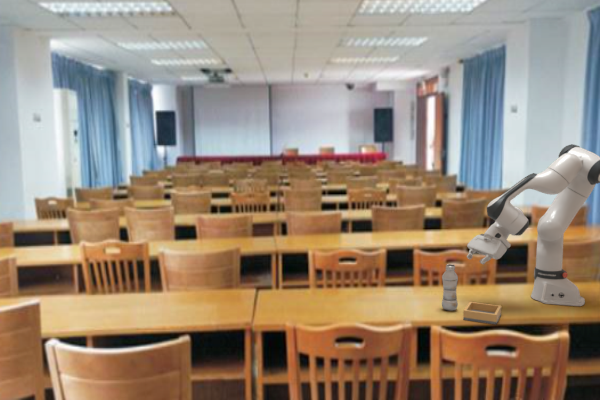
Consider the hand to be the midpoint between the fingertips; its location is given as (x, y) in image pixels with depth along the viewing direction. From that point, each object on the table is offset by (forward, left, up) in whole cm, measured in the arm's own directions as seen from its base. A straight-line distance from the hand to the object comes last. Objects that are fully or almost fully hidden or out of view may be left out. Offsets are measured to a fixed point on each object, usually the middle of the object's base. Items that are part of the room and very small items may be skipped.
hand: (474, 260), depth 241 cm
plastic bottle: (+9, +8, -21) cm, 24 cm away
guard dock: (-6, +12, -21) cm, 25 cm away
